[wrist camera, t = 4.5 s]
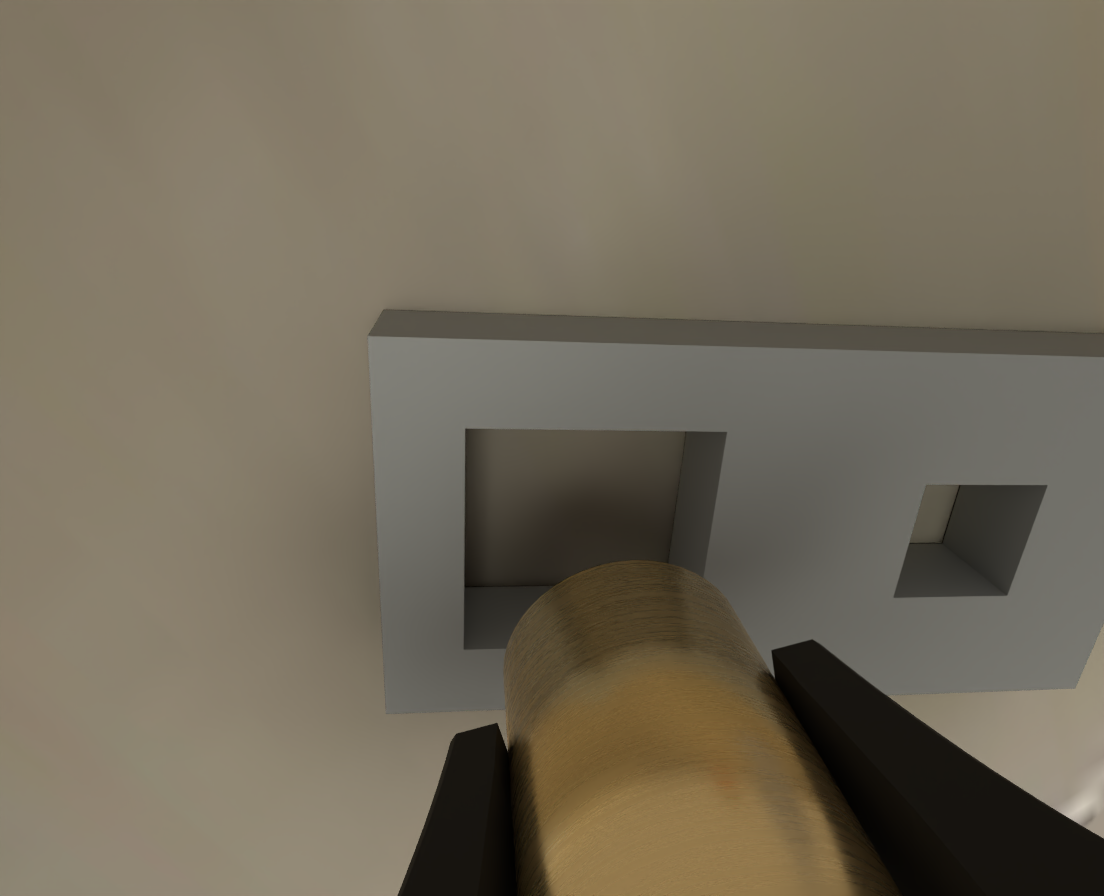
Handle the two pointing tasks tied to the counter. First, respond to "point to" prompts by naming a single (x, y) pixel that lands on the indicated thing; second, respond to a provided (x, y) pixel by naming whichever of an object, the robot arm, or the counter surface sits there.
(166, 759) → the counter surface
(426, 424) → the header block
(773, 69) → the counter surface
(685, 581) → the gold cylinder
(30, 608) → the counter surface
